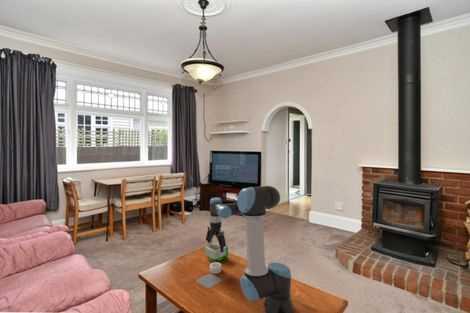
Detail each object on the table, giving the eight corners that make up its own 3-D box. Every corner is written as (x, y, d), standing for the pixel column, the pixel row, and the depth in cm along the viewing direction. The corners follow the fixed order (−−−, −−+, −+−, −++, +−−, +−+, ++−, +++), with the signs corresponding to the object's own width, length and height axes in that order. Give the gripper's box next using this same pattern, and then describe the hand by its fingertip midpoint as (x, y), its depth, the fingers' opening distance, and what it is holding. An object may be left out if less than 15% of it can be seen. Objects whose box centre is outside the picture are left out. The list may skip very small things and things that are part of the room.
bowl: (223, 270, 169) (223, 265, 168) (215, 275, 163) (215, 269, 163) (215, 266, 174) (215, 261, 173) (207, 270, 168) (207, 265, 168)
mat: (222, 280, 157) (222, 280, 157) (207, 288, 148) (207, 288, 148) (209, 273, 165) (209, 273, 165) (195, 281, 156) (195, 280, 156)
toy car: (206, 258, 186) (206, 245, 186) (223, 255, 192) (223, 242, 191) (211, 264, 177) (211, 250, 177) (228, 261, 183) (228, 247, 182)
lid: (226, 254, 168) (226, 246, 168) (214, 259, 161) (215, 251, 160) (215, 249, 175) (216, 242, 174) (204, 254, 168) (204, 246, 167)
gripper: (231, 224, 161) (231, 257, 163) (208, 216, 177) (208, 247, 178) (223, 226, 156) (223, 261, 157) (200, 218, 171) (200, 250, 173)
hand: (215, 253), depth 168 cm, fingers closed on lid, 10 cm apart
